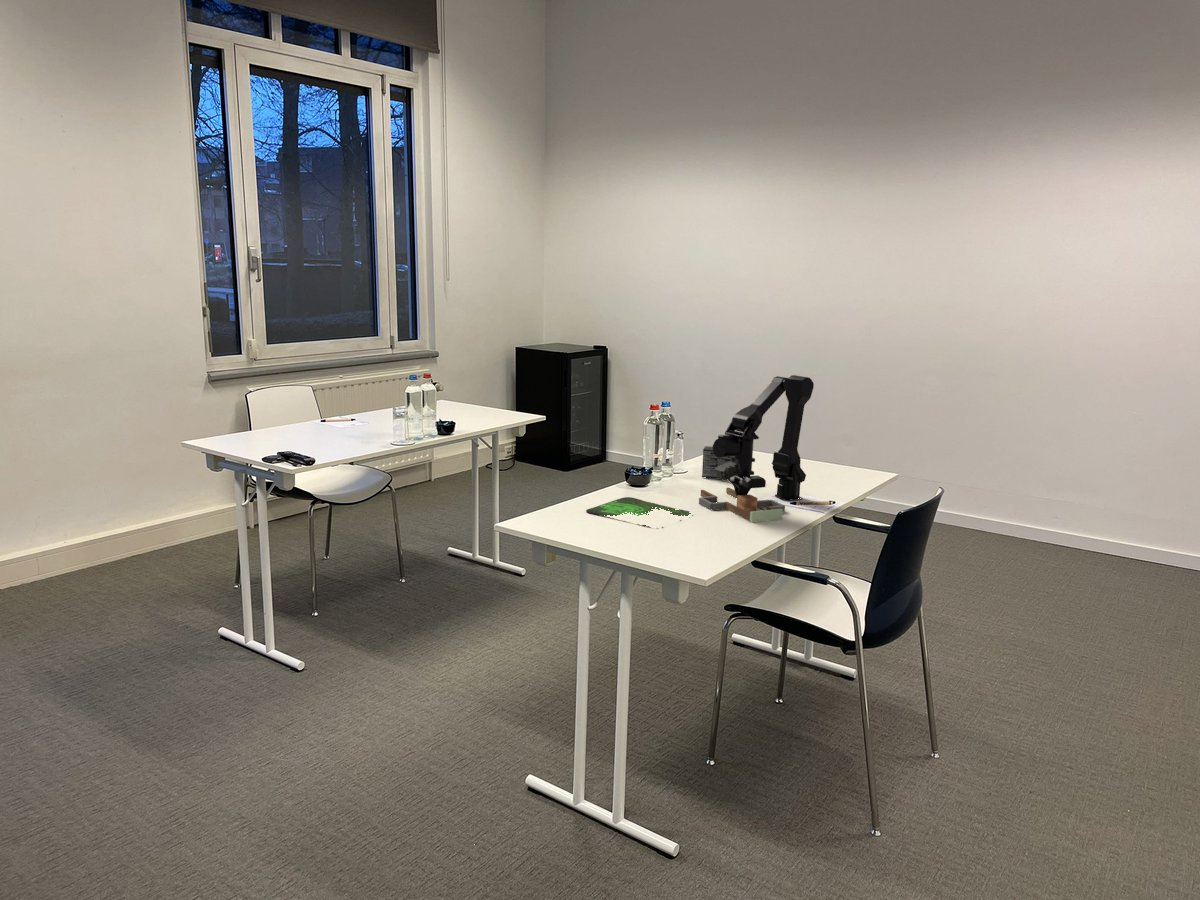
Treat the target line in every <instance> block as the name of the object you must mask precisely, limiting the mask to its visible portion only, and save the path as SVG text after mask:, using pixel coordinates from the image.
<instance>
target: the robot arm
mask: <svg viewBox="0 0 1200 900" xmlns="http://www.w3.org/2000/svg"><path fill="white" fill-rule="evenodd" d="M814 386H815V384H814V382H813V380H812V378H811V377H808V376H803V375H801V376H800V375H796V374H795V375H794V374H793V375H790V376H789V377H786V376H779V375H778V376H774V377H773V378H772V380H771V382H770V384H768V385H767V386H766V388H765V389H764V390H763V391H762V392H761V393H760V394H759V395H758V396H757V397H756V398H755V400H754V401H753V402H752V403H750V405H748V406H746V407H743V408H742V409H740V410H739V411H738V412H736V413H735V414H734V415H733V417H732V419H731V421H730V423H729V425H728V427H727V428H726V430H725V431H724V434H718V435H717V438H716V439H715V440H714V441H713V444H712V447H713V452H714V454H715V455H716V456H717V457H718V458H722V457H729V456H731V458H730V462H728V463H724V464H722V465H720V466H718V467H716V468H715V470H716V473H717V477H718V478H720V479H719V480H721V481H728V482H729V483H730V484H731V485H732V486H733V490H735V493H736V497H737V495H749V492H750V491H751V490H752V489H760V488H766V487H767V481H766V479H765V478H764V477H762V476H759V475H755V471H754V470H752V469H753V463H755V462H756V458H754V457H753V455H754V454H753V453H754V441H755V440H759V439H760V437H759V435H757V434H756V432H757V430H758V429H759V427H760V426H761V424H763V423H762V422H763V417H764V416H765V414H766V413H767V412H768V410H769V409H770V408H771V407H772V406H773V405H774V404H775V403H776V402H777V401H778V399H779V398H780V397H781V396H782V395H784V393H785V397H786V399H787V402H788V405H787V412H786V419H785V423H784V430H783V436H782V443H781V447H780V449H779V450H778V451H774V452H773V455H772V456H773V458H772V461H771V464H772V471H773V474H774V477H775V479H776V478H777V479H778V483H777V486H776V487H777V488H776V493H775V495H774V496H775V497H776V496H777V497H776V498H778V497H779V499H781V498H782V499H781V500H783V499H784V500H783V501H785V500H789V501H791V500H790V499H798V498H799V499H800V498H802V499H803V497H802V496H800V495H801V494H800V493H801V483H802V482H805V481H806V477H807V474H806V473H805V471H804V470H803V469H802V467H801V457H800V454H799V452H798V447H799V440H800V436H801V435H800V434H801V429H802V428H801V427H802V423H803V416H804V410H805V405H807V403H808V402H809V400H810V399H811V398H812V394H813V391H814ZM728 478H730V479H728ZM727 479H728V480H727ZM800 500H801V499H800Z"/></svg>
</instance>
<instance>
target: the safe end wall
mask: <svg viewBox="0 0 1200 900" xmlns="http://www.w3.org/2000/svg"><path fill="white" fill-rule="evenodd" d="M782 512H783V509H772V510H762V509H761V510H757V511H752V512H750V521H749V522H750V523H757V522H758V523H759V522H768V521H769V522H771V521H777V520H783V513H784V512H783V513H782Z"/></svg>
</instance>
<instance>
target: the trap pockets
mask: <svg viewBox="0 0 1200 900" xmlns="http://www.w3.org/2000/svg"><path fill="white" fill-rule="evenodd" d="M714 499H715V497H714V496H709V497H702V496H700V497H698V505H700V506H702V507H703V506H704V507H703V508H705V507H706V508H705V509H707V510H709V511H711V509H713V511H717V510H716V509H719V510H727V509H726V502H727V501H720V502H718V501H717V503H715V502H714ZM758 501H759V506H758V508H757V509H760V510H761V511H762V510H766V509H767V507H771V508H773V509H783V512H782V514H783V513H785V512H786V511H785V510H786V505H785V504H782V503H780V502H778V501H776V500H774V499H762V500H761V499H760V500H759V499H758Z"/></svg>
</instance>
